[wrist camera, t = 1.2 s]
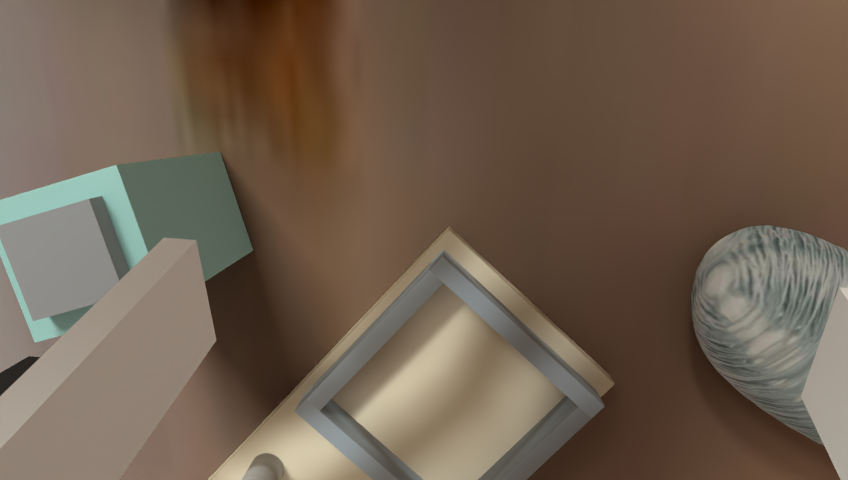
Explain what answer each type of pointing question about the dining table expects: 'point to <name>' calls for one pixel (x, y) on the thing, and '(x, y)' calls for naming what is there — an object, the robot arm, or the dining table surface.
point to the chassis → (432, 386)
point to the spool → (767, 314)
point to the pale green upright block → (113, 232)
